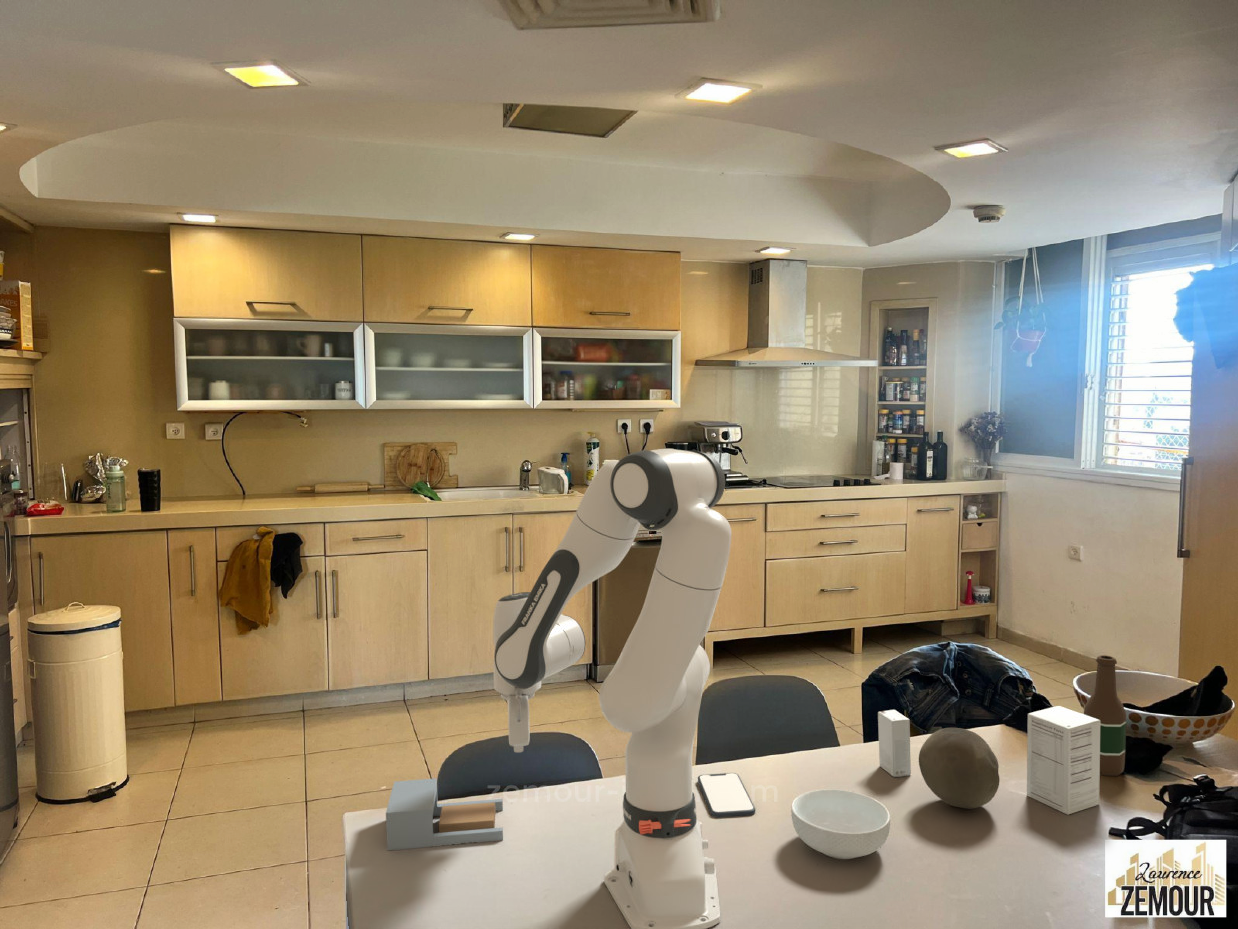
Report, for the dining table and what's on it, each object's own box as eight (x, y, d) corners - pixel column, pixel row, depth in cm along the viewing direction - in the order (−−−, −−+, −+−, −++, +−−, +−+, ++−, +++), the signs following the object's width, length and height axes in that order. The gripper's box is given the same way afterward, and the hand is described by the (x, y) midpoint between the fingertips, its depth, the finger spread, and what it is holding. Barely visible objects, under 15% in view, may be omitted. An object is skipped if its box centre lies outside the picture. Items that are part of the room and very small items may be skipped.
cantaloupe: (950, 783, 175) (951, 712, 174) (1014, 811, 164) (1015, 734, 162) (904, 802, 168) (904, 728, 167) (967, 833, 156) (969, 753, 155)
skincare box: (911, 775, 179) (912, 719, 178) (892, 778, 178) (892, 721, 177) (896, 763, 185) (896, 708, 184) (877, 765, 184) (877, 710, 183)
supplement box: (1100, 805, 165) (1103, 720, 164) (1068, 816, 161) (1070, 729, 160) (1056, 785, 174) (1058, 704, 172) (1024, 795, 170) (1026, 712, 169)
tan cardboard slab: (494, 836, 159) (493, 820, 159) (439, 840, 158) (438, 824, 158) (495, 817, 166) (495, 802, 166) (442, 821, 165) (442, 806, 165)
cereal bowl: (908, 849, 151) (909, 810, 151) (854, 886, 140) (854, 844, 140) (827, 814, 164) (827, 778, 163) (771, 846, 153) (771, 807, 152)
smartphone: (757, 818, 164) (738, 779, 180) (757, 810, 164) (738, 772, 180) (711, 821, 163) (696, 782, 179) (711, 813, 163) (696, 774, 179)
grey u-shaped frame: (503, 840, 157) (501, 803, 156) (387, 850, 154) (385, 813, 153) (502, 807, 169) (501, 773, 168) (395, 816, 166) (394, 781, 166)
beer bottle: (1073, 763, 183) (1076, 653, 181) (1102, 758, 186) (1105, 649, 184) (1103, 779, 176) (1107, 665, 174) (1133, 773, 178) (1137, 660, 176)
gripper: (536, 697, 151) (537, 773, 153) (532, 660, 171) (533, 727, 173) (500, 699, 150) (501, 775, 152) (500, 661, 171) (501, 728, 172)
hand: (518, 749), depth 162 cm, fingers closed
